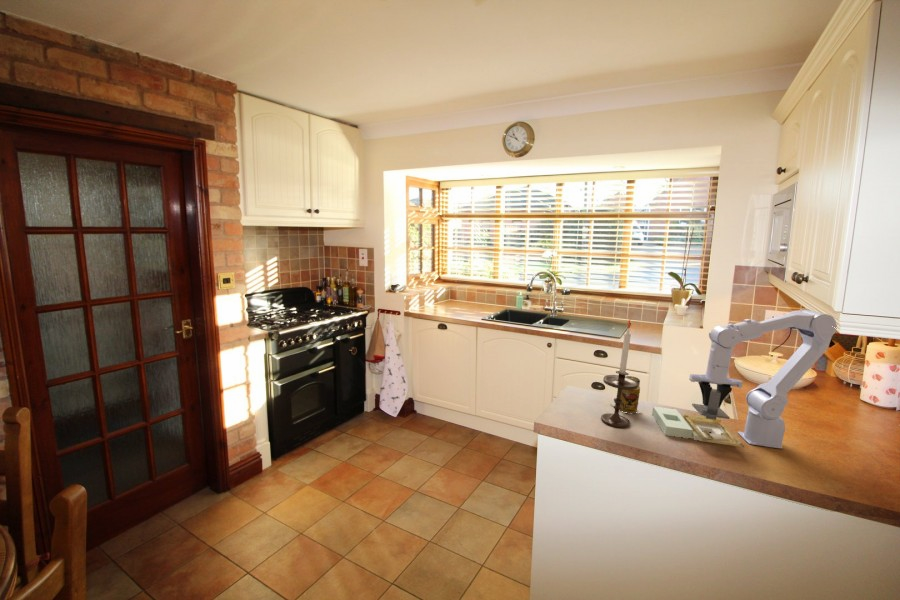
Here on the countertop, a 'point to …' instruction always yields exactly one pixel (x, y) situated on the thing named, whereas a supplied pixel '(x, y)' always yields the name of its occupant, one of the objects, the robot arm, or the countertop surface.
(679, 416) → the square cutout plate
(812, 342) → the robot arm
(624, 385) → the candlestick
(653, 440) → the countertop surface
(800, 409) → the countertop surface
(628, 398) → the condiment
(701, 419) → the gold rectangular frame
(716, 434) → the socket block
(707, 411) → the peg
